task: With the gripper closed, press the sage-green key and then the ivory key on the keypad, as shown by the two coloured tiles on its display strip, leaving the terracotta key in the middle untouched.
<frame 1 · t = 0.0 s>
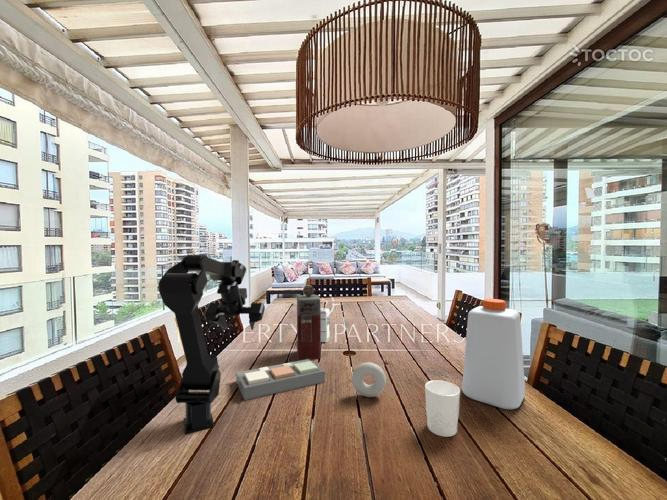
hand: (239, 328, 107), 15 cm above the table, tool tilted 35°, fingers open, 9 cm apart
terracotta key: (282, 373, 97), point 3 cm above the table, slide at 0.0 cm
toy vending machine: (308, 356, 122), on the table
white cup: (441, 429, 74), on the table
plastic bottle: (493, 395, 91), on the table
ivory key: (256, 378, 94), point 4 cm above the table, slide at 0.0 cm
donut: (368, 397, 90), on the table
syrup box: (322, 341, 141), on the table
keypad: (282, 384, 97), on the table
sage key: (305, 368, 101), point 3 cm above the table, slide at 0.0 cm
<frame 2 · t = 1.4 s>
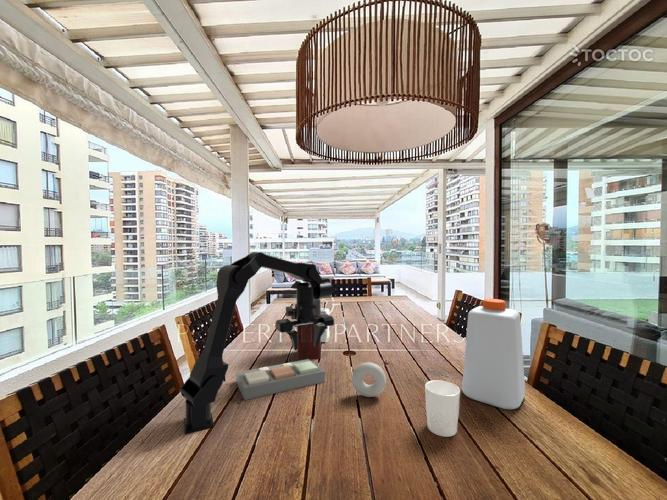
hand: (305, 348, 101), 10 cm above the table, tool pointing down, fingers open, 7 cm apart
nothing on the table moved.
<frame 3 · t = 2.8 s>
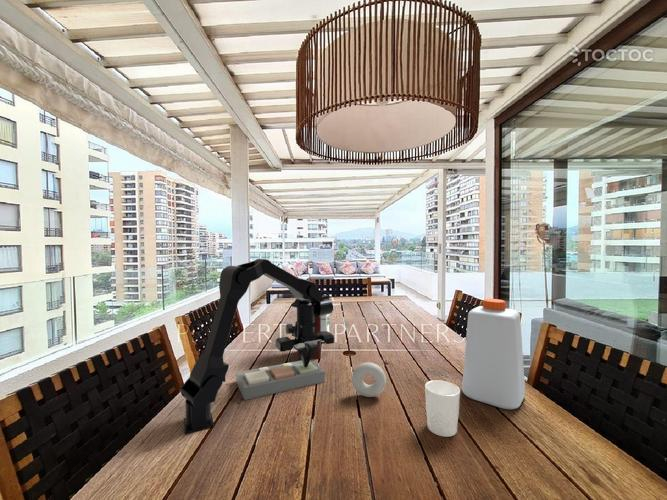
hand: (305, 366, 101), 4 cm above the table, tool pointing down, fingers closed, pressing on sage key
sage key: (305, 369, 101), point 3 cm above the table, slide at 0.3 cm, touching gripper
everything else where it was.
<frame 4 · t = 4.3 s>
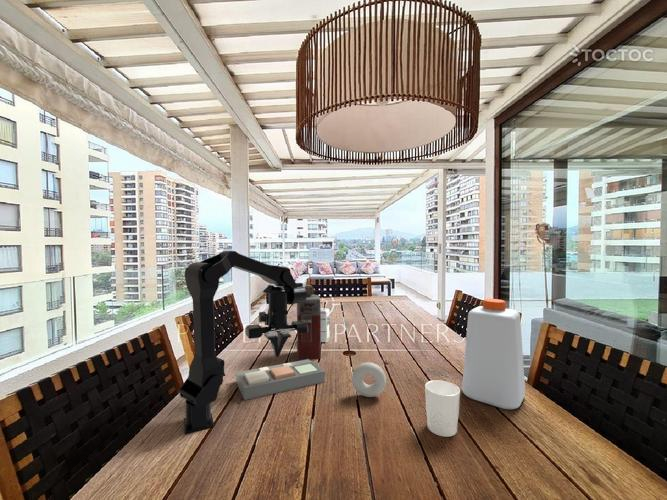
hand: (276, 356, 96), 9 cm above the table, tool pointing down, fingers closed
sage key: (305, 371, 101), point 3 cm above the table, slide at 0.9 cm
everything else where it was.
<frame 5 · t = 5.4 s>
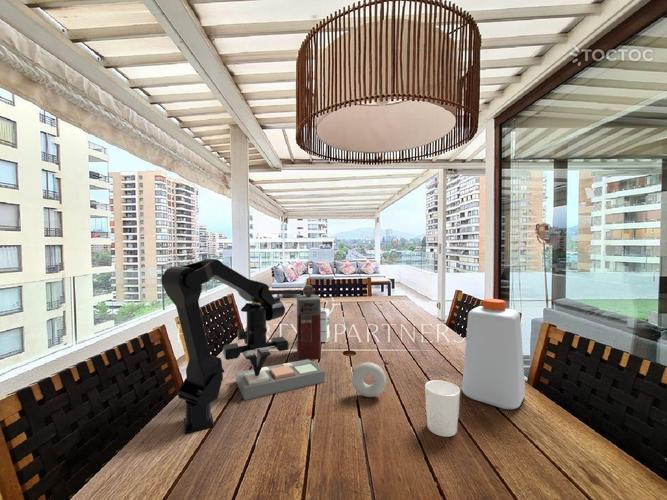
hand: (256, 375, 94), 4 cm above the table, tool pointing down, fingers closed, pressing on ivory key
ivory key: (256, 378, 94), point 3 cm above the table, slide at 0.0 cm, touching gripper
everything else where it was.
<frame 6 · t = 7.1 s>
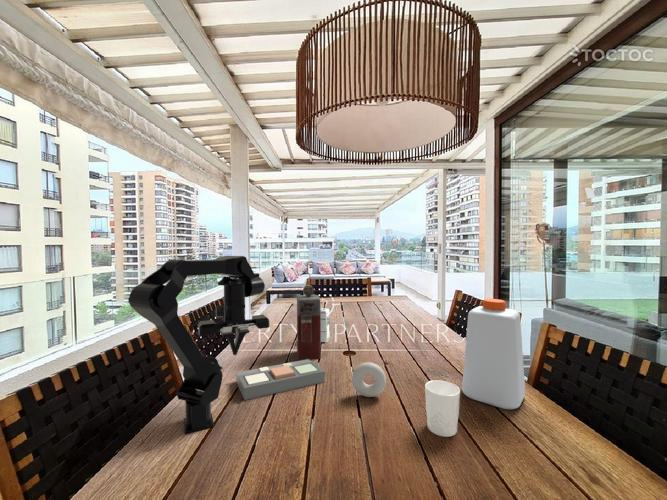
hand: (234, 354, 88), 13 cm above the table, tool pointing down, fingers closed
ivory key: (256, 381, 94), point 3 cm above the table, slide at 0.9 cm
everything else where it was.
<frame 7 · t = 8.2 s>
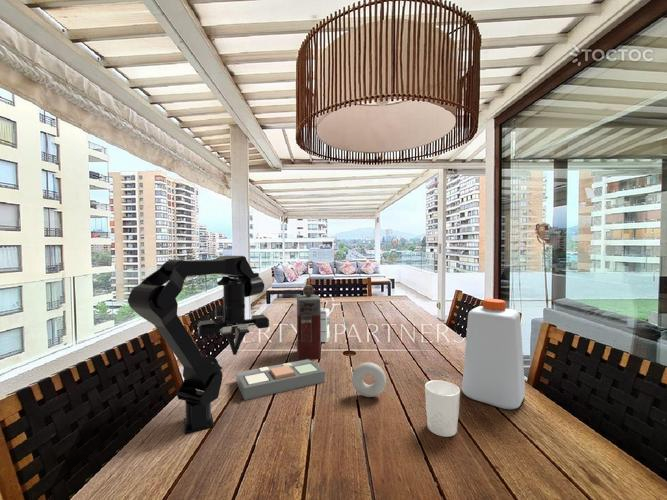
hand: (234, 354, 88), 13 cm above the table, tool pointing down, fingers closed
nothing on the table moved.
at the end: sage key slide at 0.9 cm; ivory key slide at 0.9 cm; terracotta key slide at 0.0 cm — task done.
